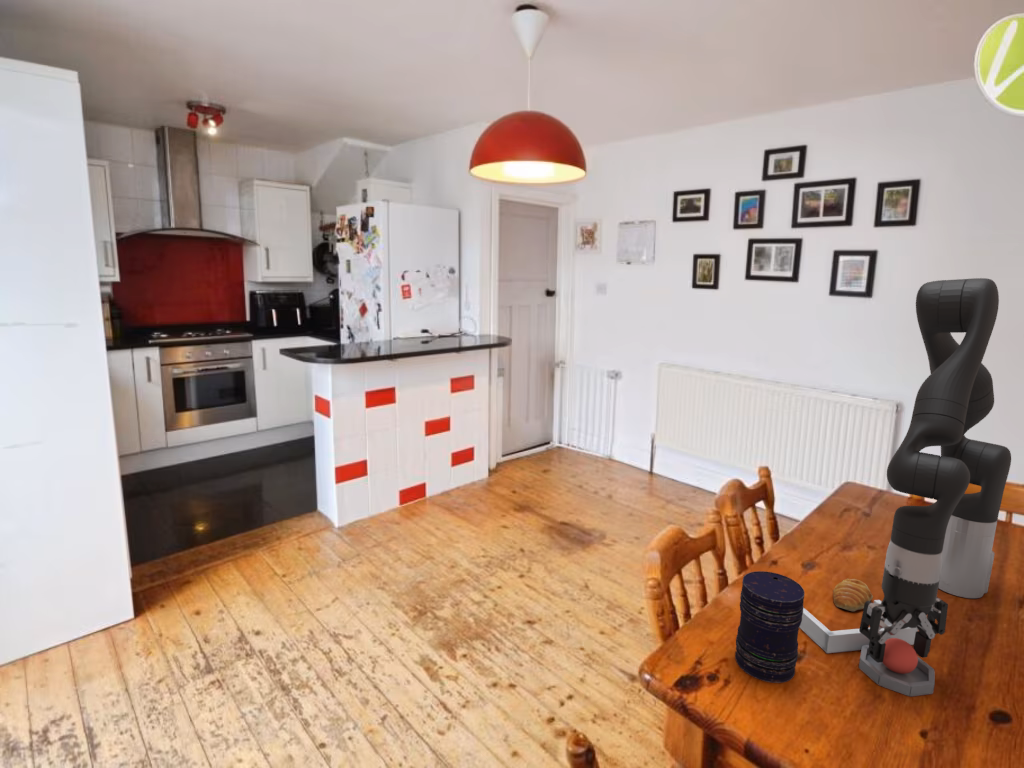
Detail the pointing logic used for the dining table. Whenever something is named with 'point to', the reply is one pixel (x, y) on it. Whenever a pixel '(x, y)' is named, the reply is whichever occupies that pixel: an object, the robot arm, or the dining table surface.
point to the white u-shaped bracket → (845, 635)
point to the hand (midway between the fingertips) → (897, 657)
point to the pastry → (851, 594)
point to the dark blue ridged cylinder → (769, 626)
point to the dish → (899, 676)
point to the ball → (899, 656)
